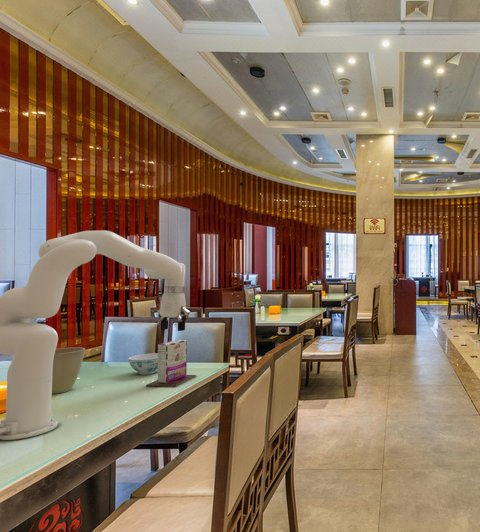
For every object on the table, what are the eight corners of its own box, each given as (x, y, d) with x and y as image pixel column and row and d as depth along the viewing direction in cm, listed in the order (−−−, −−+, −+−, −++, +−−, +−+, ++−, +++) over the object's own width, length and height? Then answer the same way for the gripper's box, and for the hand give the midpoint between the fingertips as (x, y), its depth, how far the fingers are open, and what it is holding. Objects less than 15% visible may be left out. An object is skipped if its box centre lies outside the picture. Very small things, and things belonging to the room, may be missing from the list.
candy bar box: (177, 375, 168) (178, 339, 168) (186, 376, 167) (187, 339, 167) (156, 382, 157) (157, 343, 157) (166, 383, 156) (167, 344, 156)
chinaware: (127, 378, 165) (128, 361, 165) (127, 371, 177) (128, 355, 177) (167, 373, 174) (167, 357, 174) (165, 367, 186) (165, 351, 186)
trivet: (175, 386, 154) (175, 385, 154) (146, 386, 154) (146, 384, 154) (195, 376, 170) (195, 374, 170) (169, 376, 170) (169, 374, 170)
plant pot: (93, 387, 152) (94, 348, 152) (49, 398, 138) (51, 355, 138) (67, 384, 156) (68, 346, 157) (23, 394, 142) (24, 353, 143)
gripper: (151, 290, 162) (149, 330, 161) (182, 291, 156) (180, 332, 156) (167, 290, 169) (165, 328, 168) (196, 291, 164) (195, 330, 163)
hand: (172, 330), depth 162 cm, fingers open, 9 cm apart
